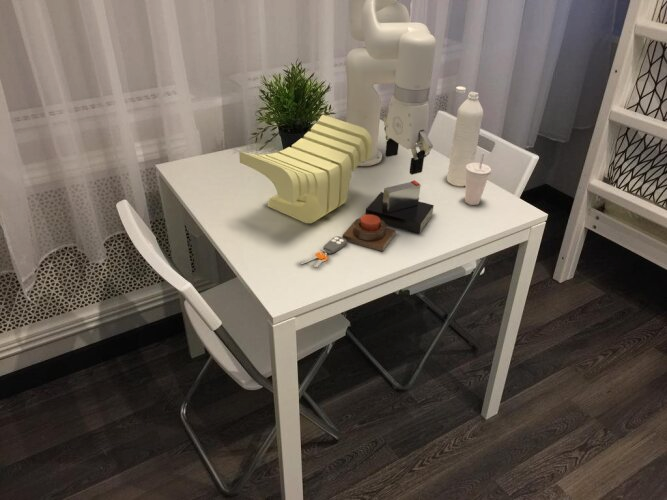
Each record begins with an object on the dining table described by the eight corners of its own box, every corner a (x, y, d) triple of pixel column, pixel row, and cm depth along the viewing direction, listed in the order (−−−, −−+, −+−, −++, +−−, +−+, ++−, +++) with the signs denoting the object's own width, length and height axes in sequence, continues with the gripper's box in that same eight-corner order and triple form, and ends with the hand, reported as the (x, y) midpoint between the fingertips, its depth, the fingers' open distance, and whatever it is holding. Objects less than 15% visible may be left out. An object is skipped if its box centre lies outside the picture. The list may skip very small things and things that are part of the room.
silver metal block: (387, 213, 141) (389, 191, 137) (381, 208, 142) (383, 187, 139) (418, 205, 144) (420, 183, 141) (412, 200, 146) (415, 179, 143)
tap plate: (364, 219, 144) (365, 209, 142) (380, 202, 151) (381, 191, 150) (419, 234, 139) (420, 223, 137) (432, 215, 146) (433, 205, 145)
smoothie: (470, 209, 150) (479, 159, 142) (454, 198, 154) (463, 149, 146) (489, 204, 152) (500, 154, 144) (474, 193, 157) (483, 144, 149)
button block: (342, 240, 136) (342, 227, 134) (356, 224, 142) (357, 211, 140) (382, 252, 132) (383, 238, 130) (395, 235, 138) (396, 222, 136)
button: (357, 228, 134) (357, 221, 133) (364, 219, 138) (365, 212, 137) (375, 233, 133) (375, 226, 132) (382, 224, 136) (383, 217, 135)
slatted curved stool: (293, 242, 134) (293, 172, 124) (243, 219, 142) (239, 151, 132) (368, 194, 154) (373, 130, 144) (320, 176, 162) (322, 114, 152)
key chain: (334, 239, 136) (335, 233, 135) (348, 244, 134) (348, 239, 133) (300, 264, 127) (300, 259, 126) (314, 271, 125) (314, 265, 125)
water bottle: (475, 182, 162) (492, 94, 148) (459, 189, 159) (475, 98, 145) (451, 170, 168) (465, 84, 154) (435, 176, 164) (448, 88, 150)
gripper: (375, 82, 131) (369, 152, 141) (421, 109, 119) (412, 183, 129) (402, 77, 135) (395, 146, 145) (450, 103, 123) (439, 176, 132)
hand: (403, 164), depth 137 cm, fingers open, 9 cm apart
